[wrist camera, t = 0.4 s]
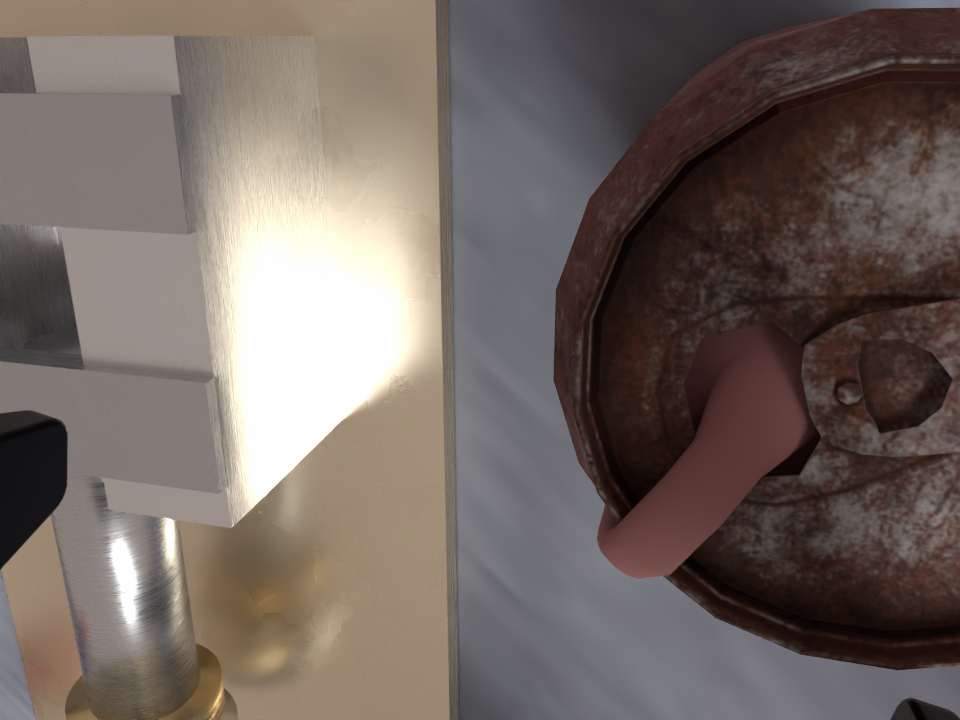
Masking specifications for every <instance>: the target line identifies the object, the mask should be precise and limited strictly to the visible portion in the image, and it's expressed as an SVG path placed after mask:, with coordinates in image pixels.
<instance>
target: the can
mask: <svg viewBox="0 0 960 720" xmlns="http://www.w3.org/2000/svg"><path fill="white" fill-rule="evenodd" d="M554 383H555V386H556V389H557V393H558V396H559V399H560V403H561V406H562V409H563V412H564V416H565V419H566V422H567V425H568V429H569V432H570V435H571V438H572V442H573V445H574V448H575V451H576V455H577V458H578V461H579V464H580V465H581V466H582V468H583V469H584V471H585V472H586V474H587V475H588V476H589V478H590V479H591V481H592V482H593V484H594V485H595V486H596V489H597V493H598V494H599V496H600V497H601V499H602V500H603V502H604V503H605V508H604V512H603V515H602V519H601V523H600V526H599V530H598V536H597V540H598V545H599V548H600V550H601V551H602V553H603V554H604V556H605V557H606V558H607V559H608V560H609V561H610V562H611V563H612V564H613V565H614V566H615V567H616V568H617V569H619V570H620V571H622V572H623V573H625V574H627V575H629V576H631V577H635V578H647V577H656V576H664V577H665V578H666V579H667V580H669V581H670V582H671V583H672V584H674V585H675V586H676V587H677V588H679V589H680V590H681V591H682V592H684V593H685V594H686V595H688V596H689V597H690V598H691V599H693V600H694V601H695V602H696V603H698V604H699V605H700V606H701V607H703V608H704V609H705V610H706V611H708V612H709V613H710V614H711V615H713V616H714V617H715V618H717V619H720V620H722V621H724V622H727V623H729V624H731V625H734V626H736V627H738V628H741V629H743V630H745V631H748V632H750V633H752V634H755V635H757V636H759V637H762V638H764V639H766V640H768V641H771V642H773V643H775V644H778V645H780V646H782V647H785V648H787V649H789V650H792V651H794V652H796V653H799V654H801V655H807V656H814V657H820V658H826V659H832V660H838V661H845V662H851V663H857V664H863V665H869V666H875V667H882V668H888V669H894V670H906V669H919V668H931V667H944V666H957V665H960V8H901V9H870V10H865V11H860V12H855V13H850V14H846V15H841V16H836V17H831V18H826V19H822V20H817V21H812V22H807V23H802V24H798V25H793V26H788V27H784V28H781V29H778V30H775V31H772V32H769V33H766V34H763V35H760V36H756V37H753V38H750V39H747V40H744V41H741V42H739V43H737V44H736V45H734V46H733V47H732V48H730V49H729V50H727V51H726V52H724V53H723V54H722V55H720V56H719V57H717V58H716V59H714V60H713V61H712V62H710V63H709V64H707V65H706V66H704V67H703V68H702V69H700V70H699V71H698V72H697V73H696V74H695V75H694V76H693V77H692V78H691V79H690V80H689V81H688V82H687V83H686V84H685V85H684V86H683V87H682V88H681V89H680V90H679V91H678V92H677V93H676V94H675V95H674V96H673V97H672V98H671V100H670V101H669V102H668V103H667V104H666V105H665V106H664V107H663V108H662V109H661V110H660V111H659V112H658V113H657V114H656V115H655V116H654V117H653V119H652V120H651V121H650V122H649V124H648V125H647V126H646V128H645V129H644V130H643V131H642V133H641V134H640V135H639V136H638V138H637V139H636V140H635V142H634V143H633V144H632V145H631V147H630V148H629V149H628V150H627V152H626V153H625V154H624V156H623V157H622V158H621V159H620V161H619V162H618V163H617V164H616V166H615V167H614V168H613V170H612V171H611V172H610V173H609V175H608V176H607V177H606V178H605V180H604V181H603V182H602V184H601V185H600V186H599V187H598V189H597V190H596V191H595V192H594V194H593V195H592V196H591V198H590V199H589V202H588V204H587V207H586V210H585V213H584V215H583V218H582V221H581V223H580V226H579V229H578V232H577V234H576V237H575V240H574V242H573V245H572V248H571V251H570V253H569V256H568V259H567V262H566V264H565V267H564V270H563V272H562V275H561V278H560V281H559V283H558V286H557V289H556V311H555V347H554Z"/></svg>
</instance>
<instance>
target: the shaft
mask: <svg viewBox="0 0 960 720" xmlns="http://www.w3.org/2000/svg"><path fill="white" fill-rule="evenodd" d="M20 349H30V350H40V351H49V352H59V353H69V354H79V355H82V353H81V347H80V341H79V335H78V330H77V327H74V328H69V329H64V330H59V331H55V332H52V333H48V334H45V335H42V336H40V337H37V338H35V339H32V340H30V341H29V342H27V343H25V344H24V345H23V346H22V347H21V348H20ZM51 519H52V524H53V529H54V534H55V539H56V544H57V549H58V554H59V559H60V564H61V569H62V574H63V579H64V584H65V589H66V594H67V599H68V604H69V609H70V614H71V619H72V624H73V629H74V634H75V639H76V644H77V649H78V654H79V659H80V664H81V669H82V675H81V677H80V678H79V679H78V680H77V681H76V682H75V684H74V685H73V687H72V688H71V690H70V692H69V694H68V696H67V699H66V704H65V715H66V720H239V719H238V711H237V706H236V703H235V701H234V699H233V697H232V696H231V694H230V693H229V692H228V691H227V690H226V689H225V688H224V685H223V677H222V670H221V665H220V662H219V661H218V659H217V657H216V656H215V655H214V654H213V653H212V652H211V651H210V650H209V649H207V648H205V647H204V646H202V645H199V644H197V643H196V641H195V634H194V627H193V620H192V613H191V606H190V599H189V592H188V585H187V578H186V571H185V564H184V557H183V550H182V543H181V536H180V529H179V522H178V520H174V519H167V518H160V517H154V516H147V515H141V514H134V513H127V512H121V511H114V510H109V509H108V503H107V497H106V491H105V486H104V480H103V478H102V477H95V476H88V475H81V474H74V473H68V477H67V488H66V492H65V495H64V497H63V499H62V501H61V503H60V504H59V506H58V507H57V508H56V509H55V510H54V512H53V513H52V514H51Z"/></svg>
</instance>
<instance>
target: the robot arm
mask: <svg viewBox="0 0 960 720" xmlns="http://www.w3.org/2000/svg"><path fill="white" fill-rule="evenodd" d="M67 477H68V431H67V428H66V426H65V424H64V423H63V422H62V421H61V420H59V419H57V418H54V417H51V416H48V415H45V414H42V413H39V412H36V411H31V410H23V411H15V412H7V413H0V570H1V569H2V568H3V567H4V565H5V564H6V563H7V562H8V561H9V560H10V559H11V558H12V557H13V556H14V554H15V553H16V552H17V551H18V550H19V549H20V548H21V547H22V546H23V545H24V543H25V542H26V541H27V540H28V539H29V538H30V537H31V536H32V535H33V534H34V532H35V531H36V530H37V529H38V528H39V527H40V526H41V525H42V524H43V523H44V521H45V520H46V519H47V518H48V517H49V516H50V515H51V514H52V513H53V512H54V510H55V509H56V508H57V507H58V506H59V504H60V503H61V501H62V499H63V497H64V495H65V492H66V488H67ZM891 720H960V718H959V717H958V716H957V715H956V714H955V713H953V712H951V711H950V710H948V709H945V708H942V707H939V706H935V705H932V704H929V703H926V702H923V701H920V700H917V699H914V698H908V699H905V700H903V701H902V702H901V703H900V704H899V705H898V706H897V708H896V710H895V712H894V714H893V716H892V718H891Z"/></svg>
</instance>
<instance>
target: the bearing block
mask: <svg viewBox="0 0 960 720" xmlns="http://www.w3.org/2000/svg"><path fill="white" fill-rule="evenodd" d="M74 327H77V330H78V335H79V341H80V347H81V353H82V355H79V354H69V353H59V352H49V351H40V350H30V349H20V348H21V347H22V346H23V345H24V344H25V343H27V342H29V341H30V340H32V339H35V338H37V337H40V336H42V335H45V334H48V333H52V332H55V331H59V330H64V329H69V328H74ZM23 410H31V411H36V412H39V413H42V414H45V415H48V416H51V417H54V418H57V419H59V420H61V421H62V422H63V423H64V424H65V426H66V428H67V431H68V473H74V474H81V475H88V476H95V477H102V478H103V480H104V486H105V491H106V497H107V503H108V509H109V510H114V511H121V512H127V513H134V514H141V515H147V516H154V517H160V518H167V519H174V520H178V522H179V529H180V536H181V543H182V550H183V557H184V564H185V571H186V578H187V585H188V592H189V599H190V606H191V613H192V620H193V627H194V634H195V641H196V643H197V644H199V645H202V646H204V647H205V648H207V649H209V650H210V651H211V652H212V653H213V654H214V655H215V656H216V657H217V659H218V661H219V662H220V665H221V670H222V677H223V685H224V688H225V689H226V690H227V691H228V692H229V693H230V694H231V696H232V697H233V699H234V701H235V703H236V706H237V711H238V719H239V720H459V679H458V611H457V544H456V476H455V409H454V341H453V274H452V206H451V139H450V71H449V4H448V0H0V413H7V412H15V411H23ZM1 570H2V574H3V578H4V583H5V587H6V591H7V596H8V600H9V605H10V609H11V613H12V618H13V622H14V626H15V631H16V635H17V640H18V644H19V648H20V653H21V657H22V662H23V666H24V670H25V675H26V679H27V683H28V688H29V692H30V697H31V701H32V705H33V710H34V714H35V718H36V720H66V715H65V704H66V699H67V696H68V694H69V692H70V690H71V688H72V687H73V685H74V684H75V682H76V681H77V680H78V679H79V678H80V677H81V675H82V669H81V664H80V659H79V654H78V649H77V644H76V639H75V634H74V629H73V624H72V619H71V614H70V609H69V604H68V599H67V594H66V589H65V584H64V579H63V574H62V569H61V564H60V559H59V554H58V549H57V544H56V539H55V534H54V529H53V524H52V519H51V515H50V516H49V517H48V518H47V519H46V520H45V521H44V523H43V524H42V525H41V526H40V527H39V528H38V529H37V530H36V531H35V532H34V534H33V535H32V536H31V537H30V538H29V539H28V540H27V541H26V542H25V543H24V545H23V546H22V547H21V548H20V549H19V550H18V551H17V552H16V553H15V554H14V556H13V557H12V558H11V559H10V560H9V561H8V562H7V563H6V564H5V565H4V567H3V568H2V569H1Z"/></svg>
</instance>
